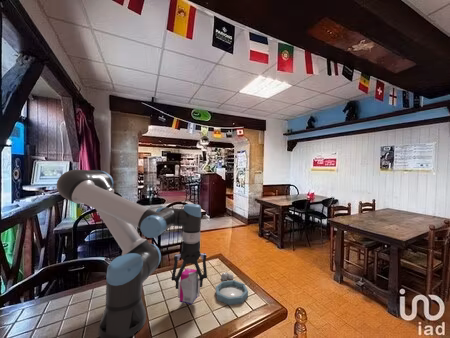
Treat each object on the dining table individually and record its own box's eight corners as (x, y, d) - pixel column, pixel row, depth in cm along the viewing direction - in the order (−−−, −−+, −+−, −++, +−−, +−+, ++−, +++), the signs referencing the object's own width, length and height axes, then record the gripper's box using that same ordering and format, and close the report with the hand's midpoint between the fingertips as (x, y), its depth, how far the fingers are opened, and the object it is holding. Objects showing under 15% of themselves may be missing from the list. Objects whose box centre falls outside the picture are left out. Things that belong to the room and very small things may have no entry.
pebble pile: (224, 283, 100) (224, 276, 100) (219, 278, 105) (219, 271, 105) (234, 280, 103) (234, 273, 103) (229, 275, 108) (229, 269, 108)
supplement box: (197, 296, 84) (198, 269, 85) (191, 305, 79) (193, 276, 79) (185, 293, 86) (186, 267, 86) (178, 302, 80) (180, 273, 81)
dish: (219, 306, 82) (219, 300, 82) (214, 287, 95) (214, 282, 95) (250, 302, 84) (250, 296, 84) (241, 284, 98) (241, 279, 98)
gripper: (165, 244, 77) (162, 303, 77) (215, 243, 81) (213, 298, 81) (167, 238, 85) (164, 291, 84) (213, 237, 89) (211, 288, 88)
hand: (188, 295), depth 82 cm, fingers closed on supplement box, 7 cm apart
